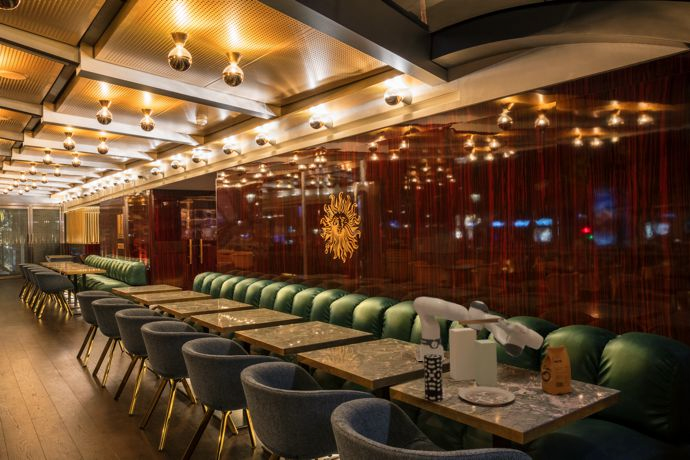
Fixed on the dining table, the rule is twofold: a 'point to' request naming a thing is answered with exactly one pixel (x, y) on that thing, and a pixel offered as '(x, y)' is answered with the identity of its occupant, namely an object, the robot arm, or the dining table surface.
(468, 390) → the plate
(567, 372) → the coffee package
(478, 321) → the stick
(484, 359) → the sage pillar
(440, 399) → the white-spotted black cylinder
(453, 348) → the tall stand
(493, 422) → the dining table surface
